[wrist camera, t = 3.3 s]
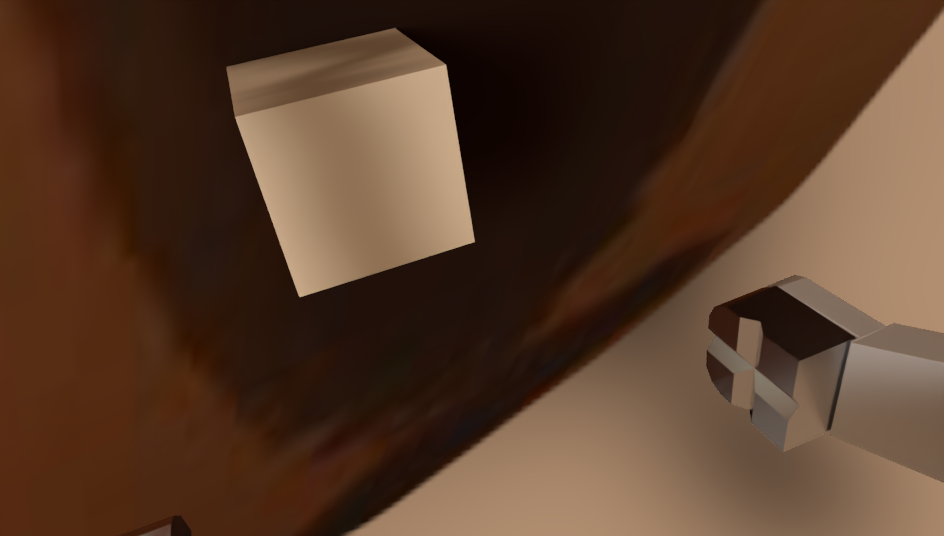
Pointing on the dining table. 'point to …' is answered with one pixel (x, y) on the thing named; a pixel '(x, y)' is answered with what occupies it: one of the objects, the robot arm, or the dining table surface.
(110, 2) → the dining table surface
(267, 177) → the cube
